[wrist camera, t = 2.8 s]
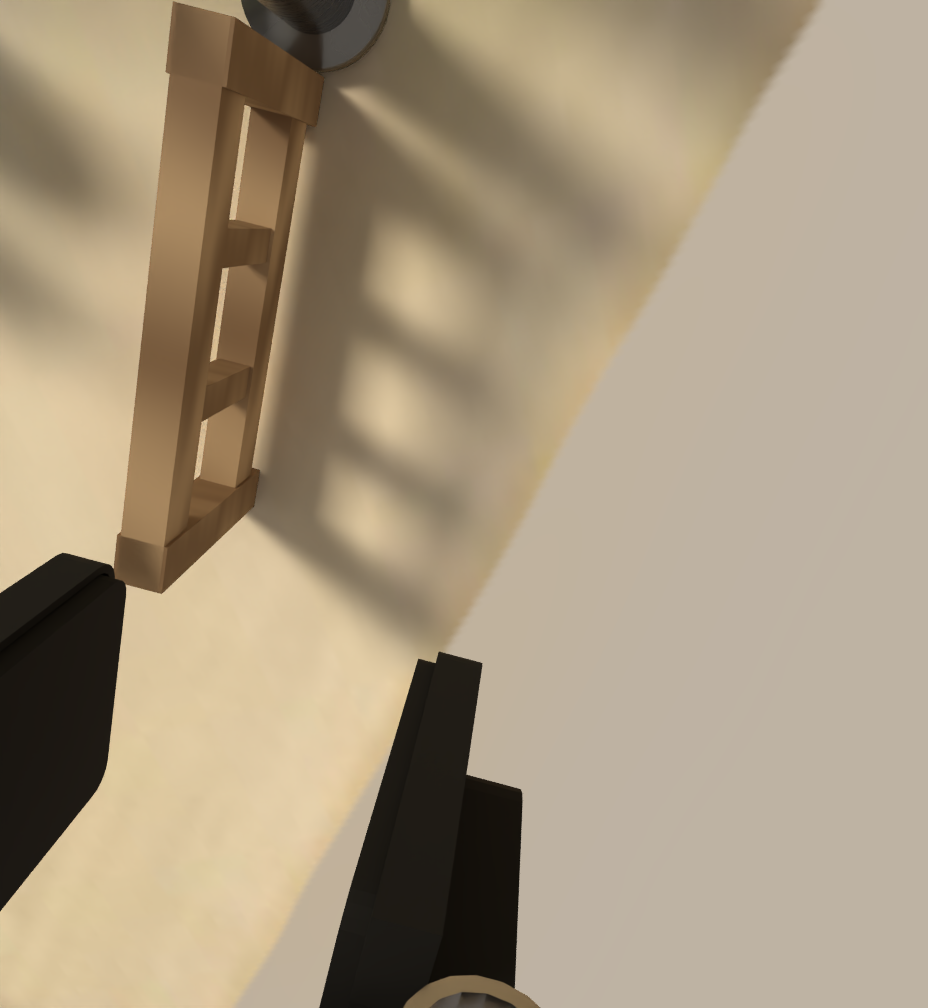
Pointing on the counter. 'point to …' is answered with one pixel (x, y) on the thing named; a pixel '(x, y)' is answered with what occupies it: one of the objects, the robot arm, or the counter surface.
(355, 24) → the hinge post
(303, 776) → the counter surface
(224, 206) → the gate
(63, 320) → the counter surface
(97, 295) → the counter surface
